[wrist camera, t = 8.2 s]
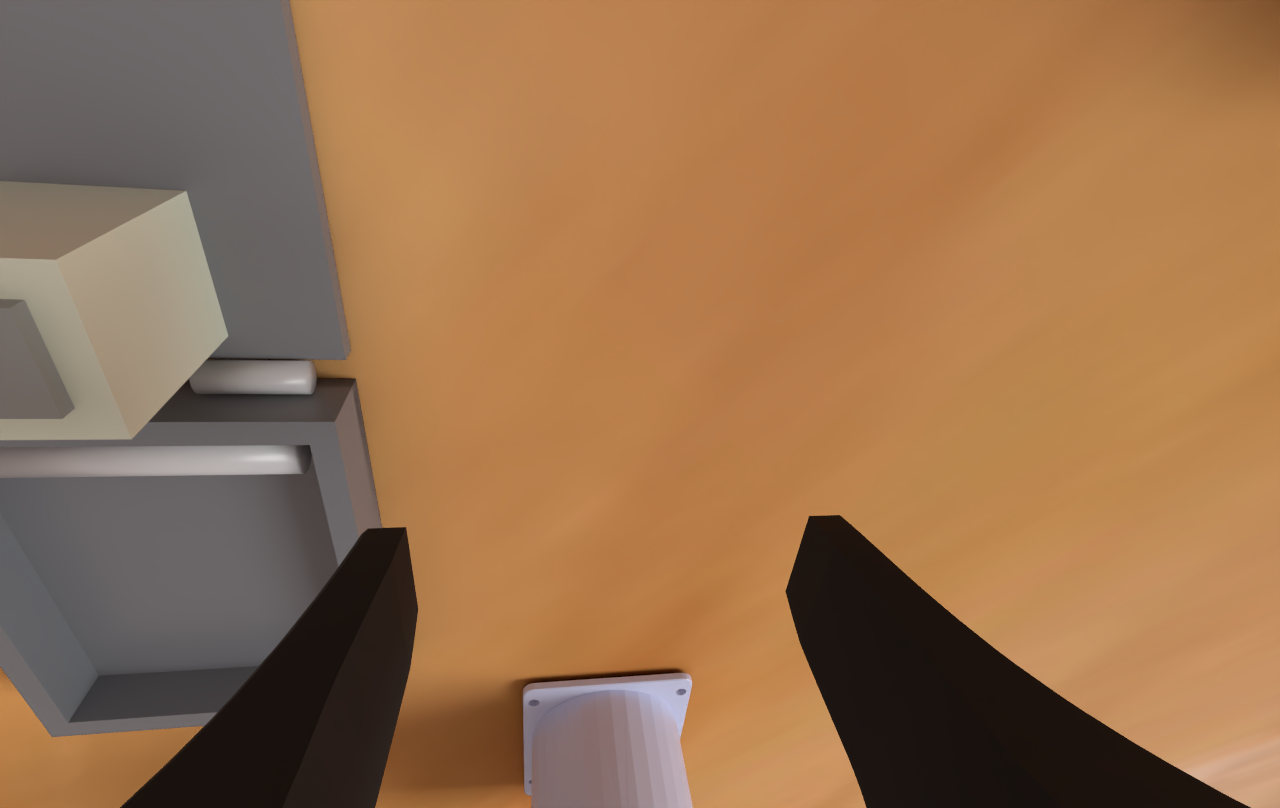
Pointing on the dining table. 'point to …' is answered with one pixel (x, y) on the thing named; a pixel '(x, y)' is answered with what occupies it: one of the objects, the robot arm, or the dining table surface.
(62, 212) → the block
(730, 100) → the dining table surface
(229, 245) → the lid panel
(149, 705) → the case
